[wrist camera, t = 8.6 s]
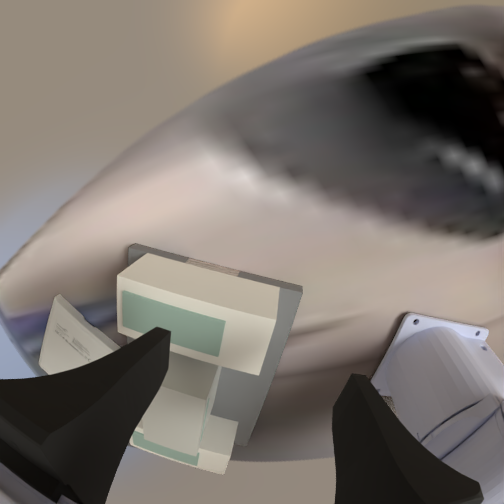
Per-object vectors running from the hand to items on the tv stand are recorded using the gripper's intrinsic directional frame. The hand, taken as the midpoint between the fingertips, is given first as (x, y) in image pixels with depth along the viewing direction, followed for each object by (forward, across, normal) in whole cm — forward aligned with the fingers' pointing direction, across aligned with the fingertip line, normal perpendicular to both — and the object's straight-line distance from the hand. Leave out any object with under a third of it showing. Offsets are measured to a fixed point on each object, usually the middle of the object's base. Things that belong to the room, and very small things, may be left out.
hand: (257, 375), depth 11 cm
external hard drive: (+10, +17, +14) cm, 25 cm away
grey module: (+8, +4, +9) cm, 13 cm away
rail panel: (+9, +4, +9) cm, 14 cm away
